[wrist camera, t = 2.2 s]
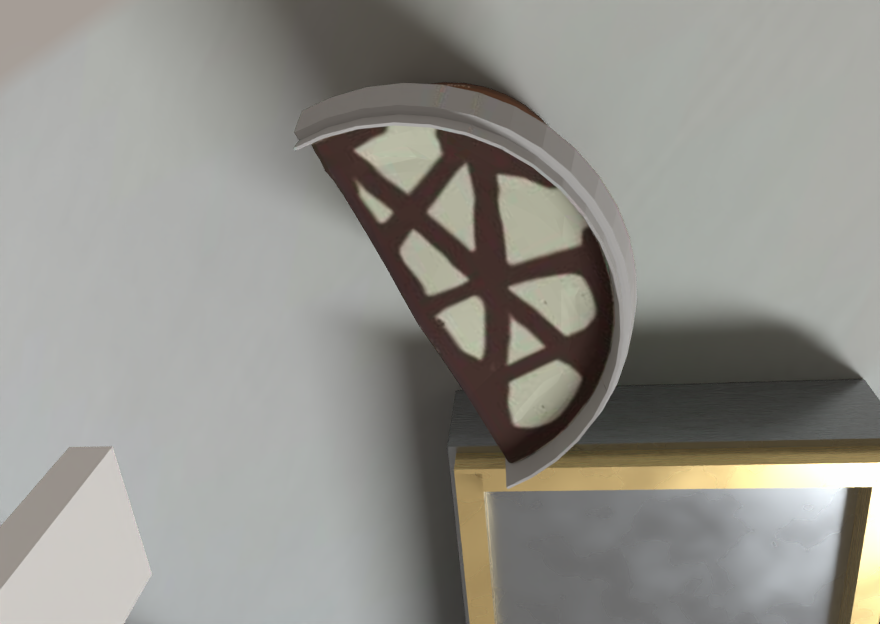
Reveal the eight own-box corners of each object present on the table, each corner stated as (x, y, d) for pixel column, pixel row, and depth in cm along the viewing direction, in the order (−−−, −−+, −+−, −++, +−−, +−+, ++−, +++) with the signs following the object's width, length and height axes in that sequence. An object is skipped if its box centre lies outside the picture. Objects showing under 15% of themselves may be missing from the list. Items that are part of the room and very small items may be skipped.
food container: (665, 278, 31) (720, 425, 22) (519, 342, 33) (516, 503, 24) (515, -30, 27) (509, -4, 18) (358, 62, 29) (280, 129, 20)
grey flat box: (487, 723, 42) (483, 818, 38) (455, 390, 34) (445, 462, 30) (876, 732, 40) (920, 834, 36) (946, 376, 32) (1015, 453, 27)
